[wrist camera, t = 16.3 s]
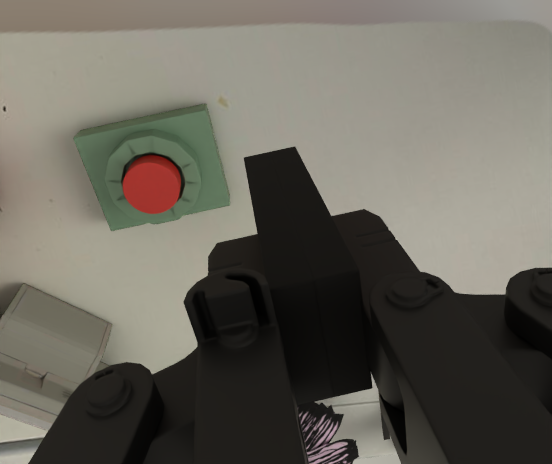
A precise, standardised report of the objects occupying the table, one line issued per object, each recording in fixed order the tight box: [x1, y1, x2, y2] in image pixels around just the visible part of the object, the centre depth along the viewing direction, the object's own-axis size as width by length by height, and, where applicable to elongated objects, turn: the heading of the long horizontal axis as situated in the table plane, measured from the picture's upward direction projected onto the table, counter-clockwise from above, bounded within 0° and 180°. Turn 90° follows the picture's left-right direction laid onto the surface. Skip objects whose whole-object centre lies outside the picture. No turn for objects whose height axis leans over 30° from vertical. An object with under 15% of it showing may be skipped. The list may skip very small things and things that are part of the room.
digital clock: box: [0, 284, 112, 431], centre depth 39 cm, size 16×9×11 cm, turn 40°
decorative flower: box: [297, 402, 359, 464], centre depth 47 cm, size 14×12×15 cm
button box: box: [73, 104, 230, 231], centre depth 36 cm, size 10×8×4 cm
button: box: [123, 155, 181, 214], centre depth 34 cm, size 4×4×2 cm
